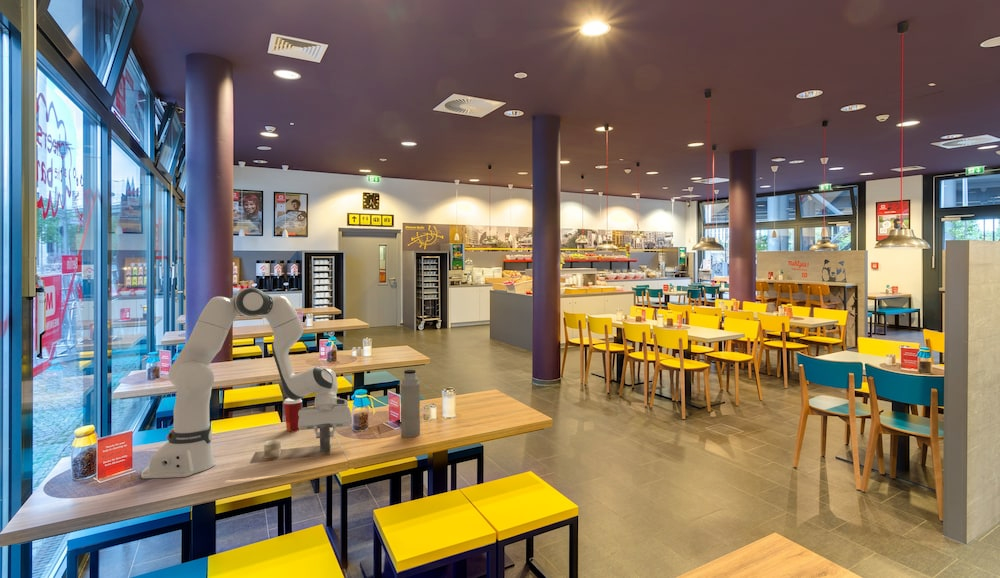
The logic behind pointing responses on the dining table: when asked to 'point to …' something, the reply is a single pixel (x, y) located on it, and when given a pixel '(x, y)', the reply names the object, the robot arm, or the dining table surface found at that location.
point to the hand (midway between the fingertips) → (324, 437)
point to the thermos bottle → (410, 404)
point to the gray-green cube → (272, 449)
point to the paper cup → (292, 413)
